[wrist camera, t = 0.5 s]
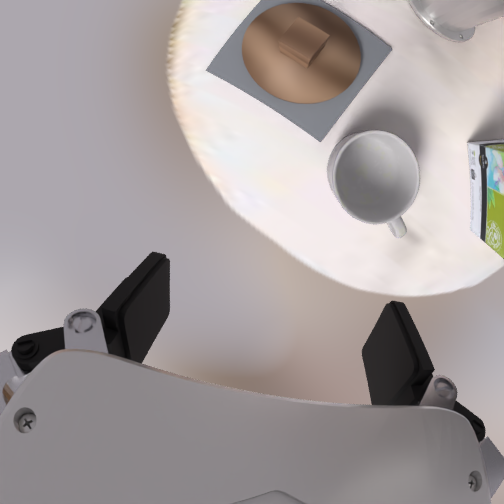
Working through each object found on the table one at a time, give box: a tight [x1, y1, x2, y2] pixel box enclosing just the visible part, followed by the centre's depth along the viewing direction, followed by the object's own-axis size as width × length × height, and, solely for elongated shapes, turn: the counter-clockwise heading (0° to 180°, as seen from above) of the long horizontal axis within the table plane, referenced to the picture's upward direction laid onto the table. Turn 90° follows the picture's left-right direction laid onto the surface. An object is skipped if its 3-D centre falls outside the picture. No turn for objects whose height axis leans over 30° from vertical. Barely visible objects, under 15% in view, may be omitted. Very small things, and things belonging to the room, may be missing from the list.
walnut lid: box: [242, 3, 361, 104], centre depth 25 cm, size 15×15×6 cm
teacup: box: [327, 130, 420, 238], centre depth 31 cm, size 14×11×8 cm
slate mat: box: [206, 0, 392, 142], centre depth 28 cm, size 18×18×1 cm
